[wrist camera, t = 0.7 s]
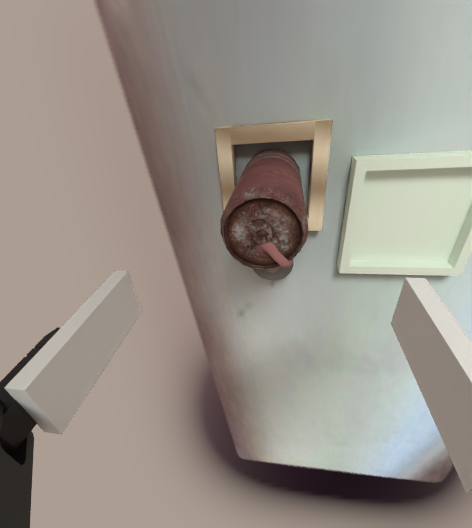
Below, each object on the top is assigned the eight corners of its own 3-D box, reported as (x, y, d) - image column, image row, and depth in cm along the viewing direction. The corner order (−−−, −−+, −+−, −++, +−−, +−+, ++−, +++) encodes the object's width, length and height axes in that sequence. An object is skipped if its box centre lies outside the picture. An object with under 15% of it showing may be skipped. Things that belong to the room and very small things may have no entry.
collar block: (218, 127, 27) (210, 131, 25) (330, 118, 26) (335, 122, 23) (232, 268, 37) (228, 282, 34) (315, 270, 35) (318, 285, 32)
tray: (352, 156, 27) (356, 160, 25) (501, 148, 25) (517, 153, 23) (336, 264, 34) (339, 273, 32) (451, 266, 32) (460, 275, 30)
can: (274, 216, 32) (268, 290, 20) (233, 180, 30) (200, 238, 19) (313, 177, 29) (332, 238, 17) (269, 135, 27) (257, 171, 16)
